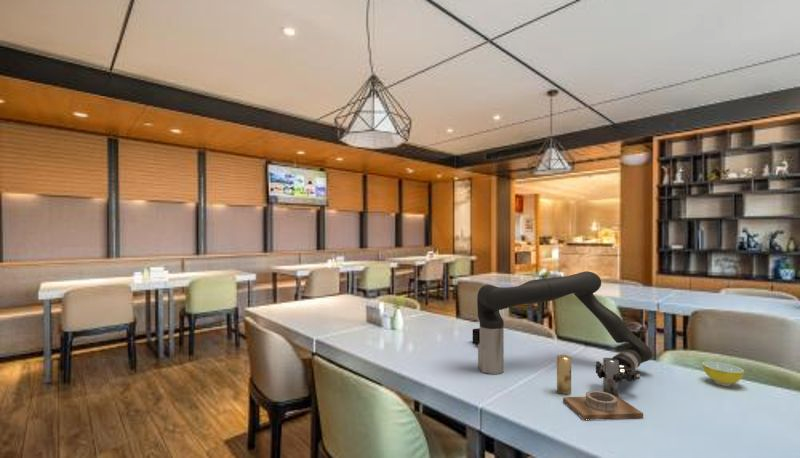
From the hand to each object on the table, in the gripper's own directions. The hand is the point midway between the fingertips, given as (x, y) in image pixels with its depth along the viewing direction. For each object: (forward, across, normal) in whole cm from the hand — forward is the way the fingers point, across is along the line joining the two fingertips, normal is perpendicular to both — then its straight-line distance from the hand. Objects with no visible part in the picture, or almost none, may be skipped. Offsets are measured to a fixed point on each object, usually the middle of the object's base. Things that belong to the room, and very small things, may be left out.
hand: (608, 377), depth 124 cm
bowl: (-43, +25, +7) cm, 50 cm away
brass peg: (+5, -12, +7) cm, 15 cm away
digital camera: (-20, -62, +7) cm, 65 cm away
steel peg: (-3, 0, +7) cm, 7 cm away
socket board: (+10, +1, +7) cm, 12 cm away
